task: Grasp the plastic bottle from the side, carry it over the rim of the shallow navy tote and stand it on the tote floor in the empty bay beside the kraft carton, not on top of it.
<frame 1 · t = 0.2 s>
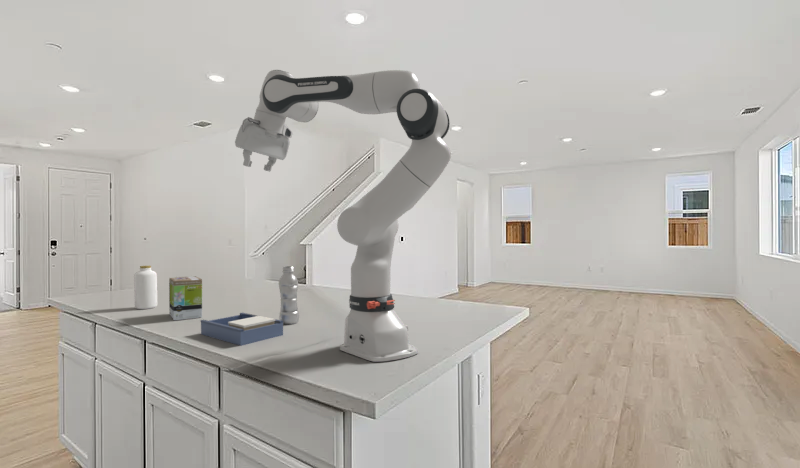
hand: (257, 168, 128), 52 cm above the counter, tool tilted 20°, fingers open, 8 cm apart
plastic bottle: (289, 325, 143), on the counter
tea box: (185, 316, 160), on the counter
carton: (252, 337, 124), point 1 cm above the counter, touching tote
tote: (241, 337, 127), on the counter
potion bottle: (146, 308, 178), on the counter
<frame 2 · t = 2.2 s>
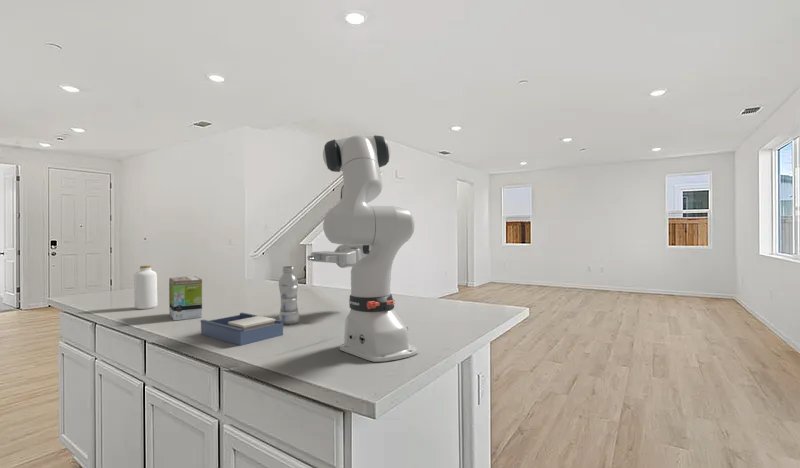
hand: (316, 258, 152), 22 cm above the counter, tool horizontal, fingers open, 8 cm apart
nothing on the counter moved.
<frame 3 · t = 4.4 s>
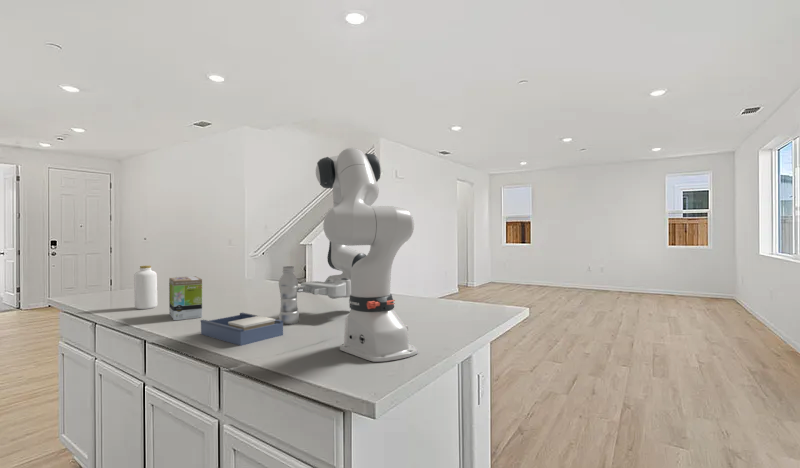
hand: (305, 291, 148), 11 cm above the counter, tool horizontal, fingers open, 8 cm apart
nothing on the counter moved.
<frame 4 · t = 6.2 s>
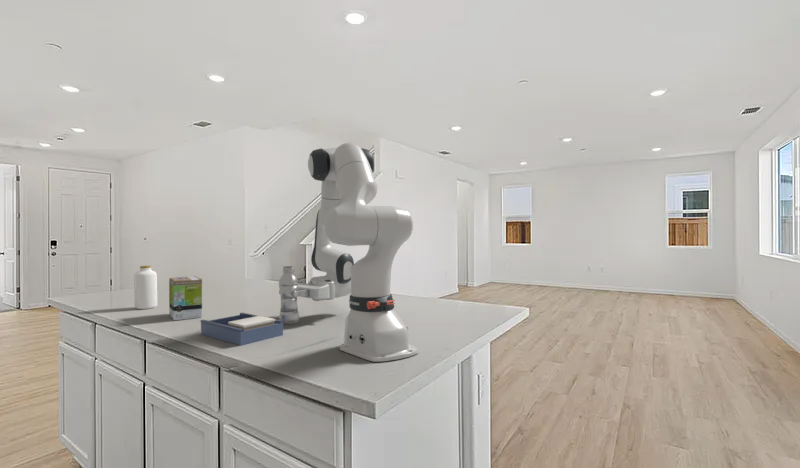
hand: (286, 293, 142), 11 cm above the counter, tool horizontal, fingers closed on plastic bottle, 6 cm apart
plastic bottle: (289, 325, 143), on the counter, touching gripper
everything else where it was.
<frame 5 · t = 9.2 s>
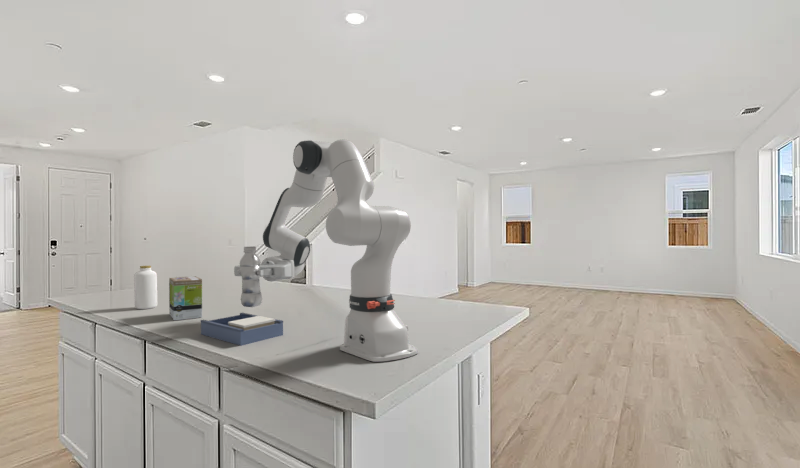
hand: (248, 272, 137), 19 cm above the counter, tool horizontal, fingers closed on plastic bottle, 6 cm apart
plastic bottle: (251, 307, 138), point 7 cm above the counter, touching gripper
everything else where it was.
when the fingers open (13 cm above the counter, at t = 12.4 s): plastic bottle stays where it is, resting on tote.
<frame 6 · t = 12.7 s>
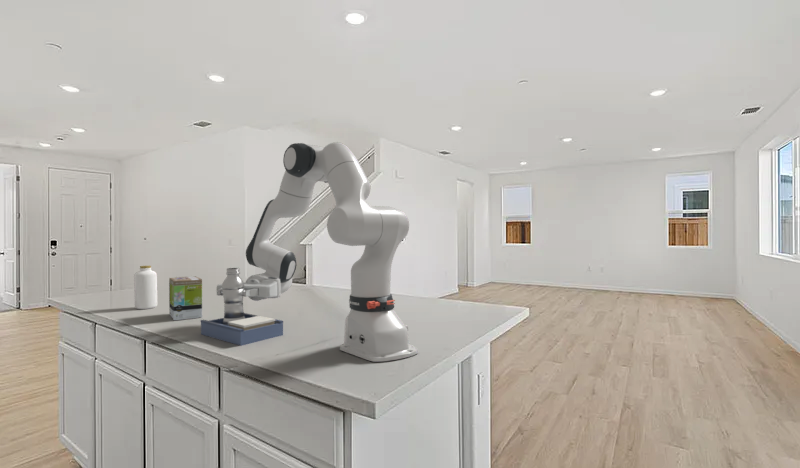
hand: (231, 293, 129), 13 cm above the counter, tool horizontal, fingers open, 8 cm apart
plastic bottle: (234, 332, 130), point 1 cm above the counter, touching tote
everything else where it was.
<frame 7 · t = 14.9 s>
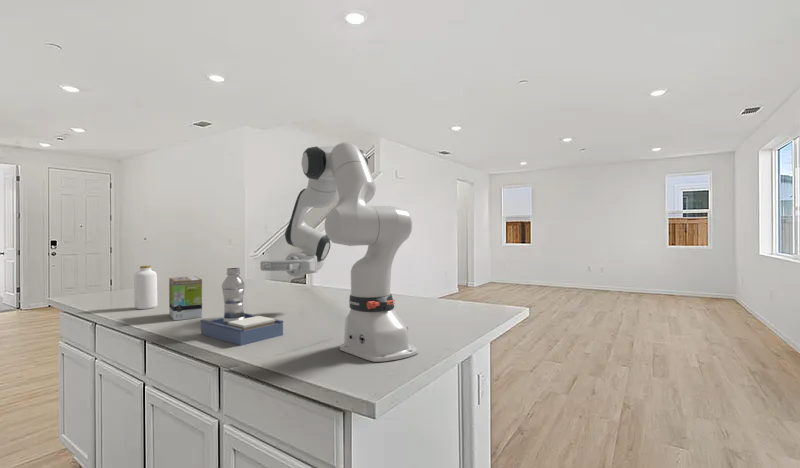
hand: (276, 266, 144), 20 cm above the counter, tool horizontal, fingers open, 8 cm apart
nothing on the counter moved.
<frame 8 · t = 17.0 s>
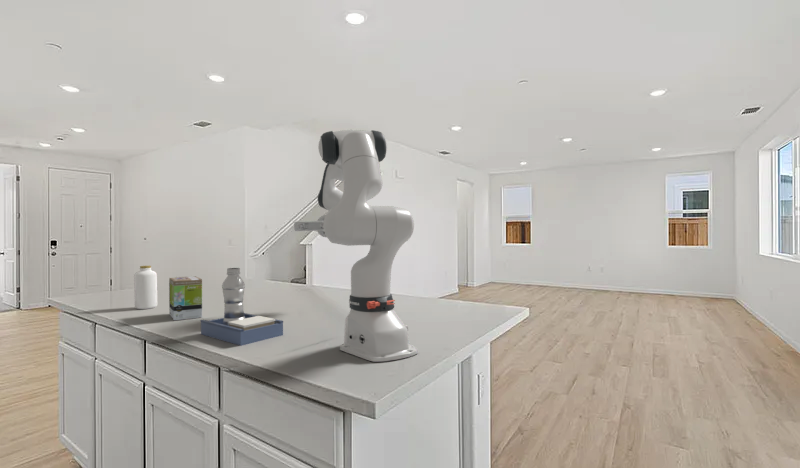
hand: (310, 225, 150), 34 cm above the counter, tool horizontal, fingers open, 8 cm apart
nothing on the counter moved.
at the end: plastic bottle inside the target area (0.1 cm from its centre), point 0.6 cm above the counter; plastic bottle tilted 0°; carton moved 0.1 cm from its start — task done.
